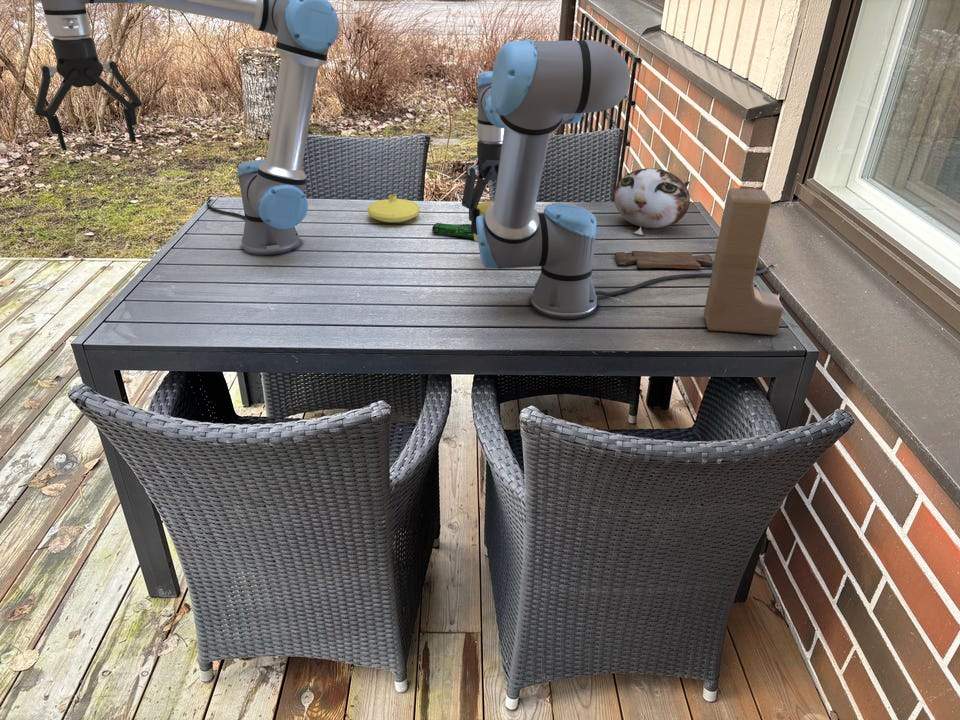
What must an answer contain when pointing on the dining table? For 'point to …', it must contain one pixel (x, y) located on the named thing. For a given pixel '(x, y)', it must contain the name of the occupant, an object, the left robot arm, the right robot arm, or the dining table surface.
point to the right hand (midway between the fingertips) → (490, 229)
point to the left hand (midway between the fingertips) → (99, 144)
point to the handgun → (453, 230)
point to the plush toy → (651, 198)
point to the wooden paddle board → (663, 259)
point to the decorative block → (741, 269)
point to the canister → (482, 212)
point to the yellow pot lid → (393, 210)
